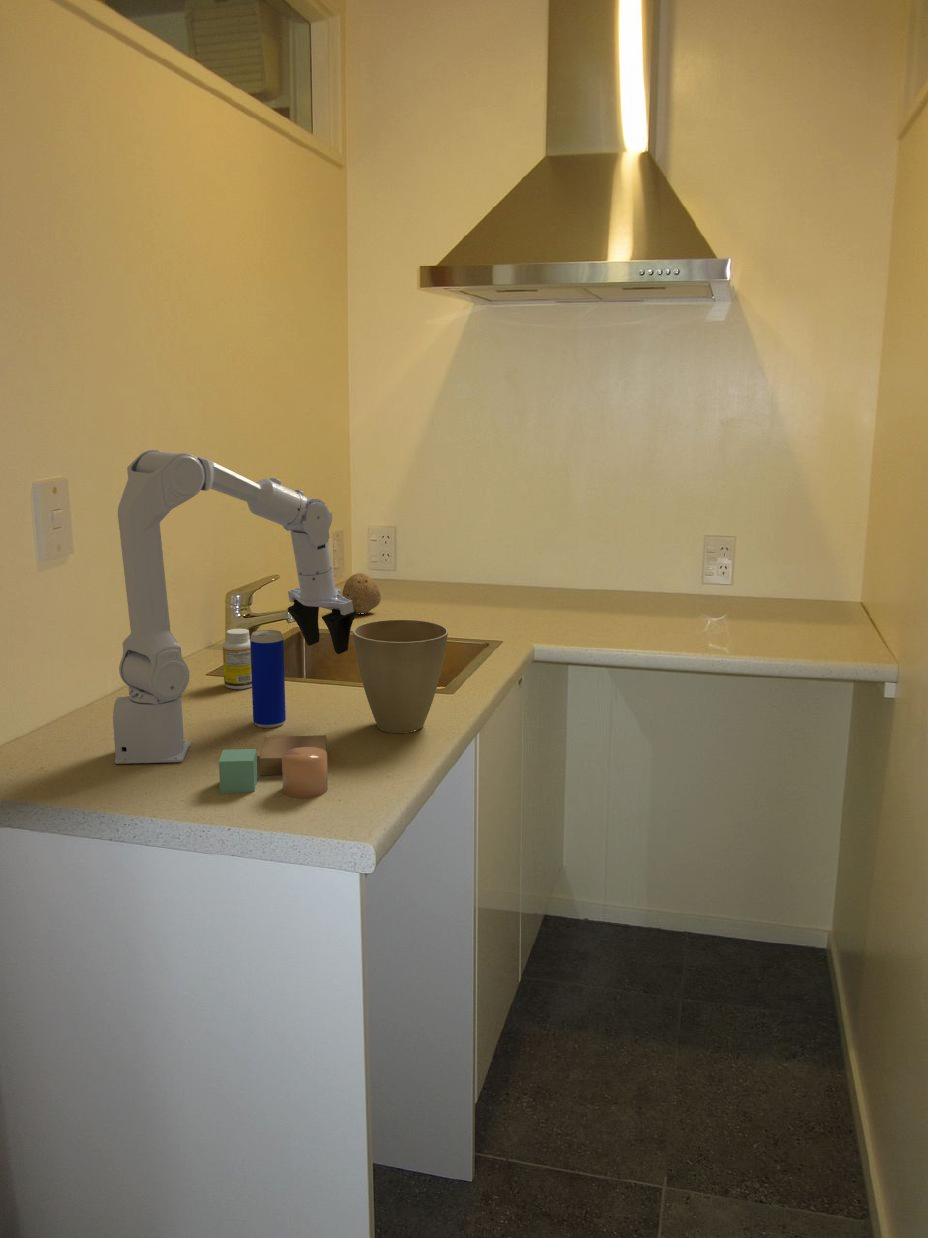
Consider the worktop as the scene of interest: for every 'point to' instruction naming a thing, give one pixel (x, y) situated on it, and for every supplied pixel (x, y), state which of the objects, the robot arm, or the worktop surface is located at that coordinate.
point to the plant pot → (400, 670)
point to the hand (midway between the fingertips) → (327, 647)
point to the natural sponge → (362, 592)
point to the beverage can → (268, 678)
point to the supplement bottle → (237, 659)
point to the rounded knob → (304, 772)
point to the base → (280, 744)
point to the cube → (238, 770)
